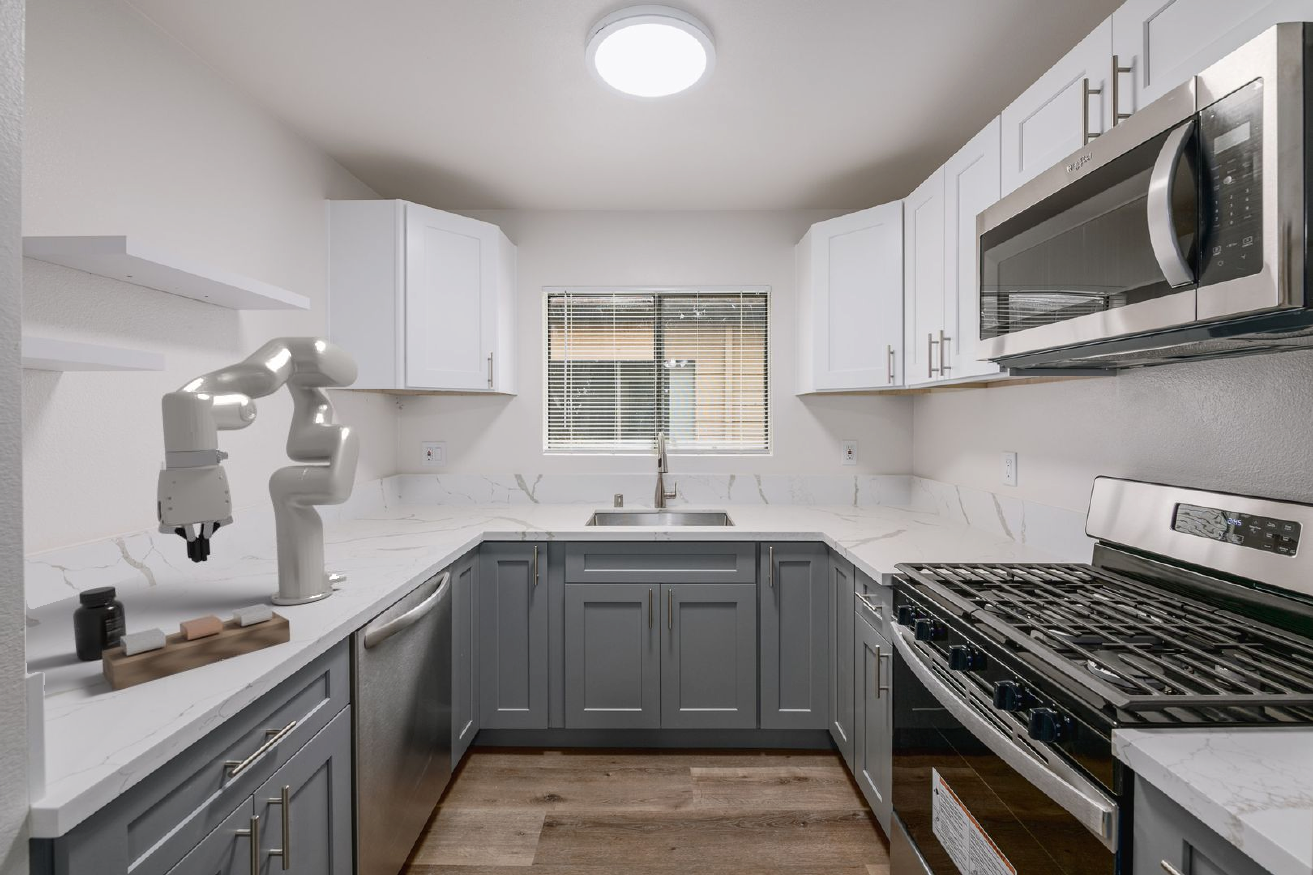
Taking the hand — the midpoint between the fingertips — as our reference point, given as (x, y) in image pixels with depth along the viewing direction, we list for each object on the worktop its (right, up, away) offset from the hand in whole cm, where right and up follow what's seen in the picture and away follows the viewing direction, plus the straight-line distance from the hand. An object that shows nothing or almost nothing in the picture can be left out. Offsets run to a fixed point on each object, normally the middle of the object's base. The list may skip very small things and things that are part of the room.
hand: (199, 560), depth 105 cm
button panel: (+1, -17, 0) cm, 17 cm away
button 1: (-4, -17, -7) cm, 19 cm away
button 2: (+6, -17, +6) cm, 19 cm away
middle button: (+1, -17, 0) cm, 17 cm away
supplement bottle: (-19, -18, +2) cm, 26 cm away
